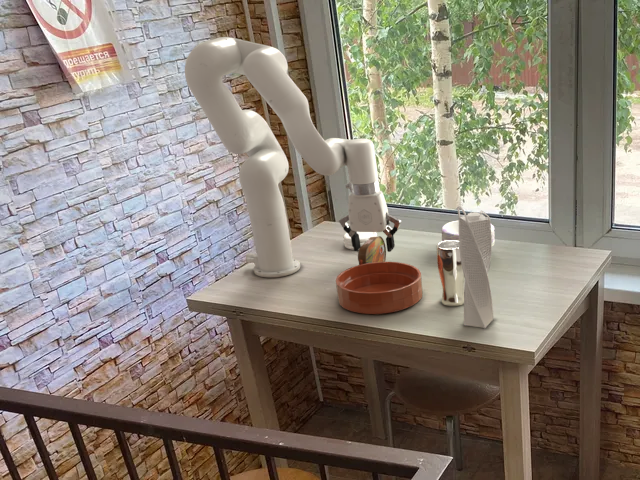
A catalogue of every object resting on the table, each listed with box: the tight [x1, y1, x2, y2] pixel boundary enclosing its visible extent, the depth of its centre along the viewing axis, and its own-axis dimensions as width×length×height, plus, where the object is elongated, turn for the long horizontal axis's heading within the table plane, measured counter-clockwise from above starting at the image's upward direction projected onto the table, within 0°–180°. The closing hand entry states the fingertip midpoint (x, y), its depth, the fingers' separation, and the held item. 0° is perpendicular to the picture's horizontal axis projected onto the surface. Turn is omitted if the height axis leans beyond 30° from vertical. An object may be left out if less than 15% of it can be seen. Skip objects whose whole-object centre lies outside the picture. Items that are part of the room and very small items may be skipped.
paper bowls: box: [440, 219, 496, 247], centre depth 228 cm, size 15×15×8 cm
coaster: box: [343, 232, 378, 251], centre depth 237 cm, size 10×10×4 cm
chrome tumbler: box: [436, 240, 465, 307], centre depth 195 cm, size 7×7×15 cm
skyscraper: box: [456, 205, 495, 329], centre depth 181 cm, size 8×8×28 cm
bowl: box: [335, 261, 424, 315], centre depth 200 cm, size 21×21×6 cm
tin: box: [357, 235, 387, 265], centre depth 217 cm, size 15×3×8 cm, turn 168°
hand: (374, 249), depth 216 cm, fingers open, 9 cm apart
